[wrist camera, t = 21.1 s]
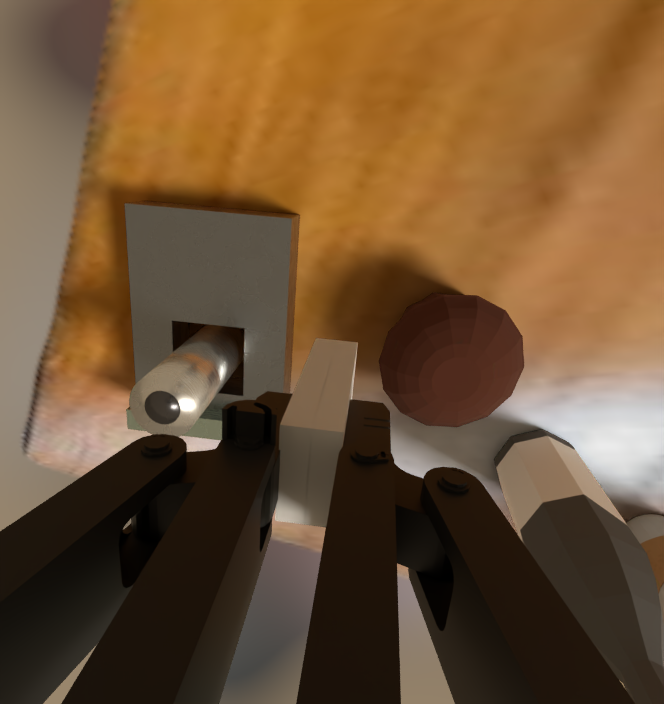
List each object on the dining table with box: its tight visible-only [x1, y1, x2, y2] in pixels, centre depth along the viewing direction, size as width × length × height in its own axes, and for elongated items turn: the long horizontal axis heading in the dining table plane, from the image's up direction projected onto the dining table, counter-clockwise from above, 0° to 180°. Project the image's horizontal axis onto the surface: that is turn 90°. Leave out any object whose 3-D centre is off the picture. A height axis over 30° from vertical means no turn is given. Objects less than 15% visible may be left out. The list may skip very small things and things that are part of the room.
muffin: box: [379, 292, 524, 427], centre depth 42 cm, size 12×11×10 cm
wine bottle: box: [494, 429, 664, 704], centre depth 36 cm, size 8×8×30 cm
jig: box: [125, 201, 300, 440], centre depth 45 cm, size 20×14×6 cm
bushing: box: [129, 324, 244, 437], centre depth 42 cm, size 5×5×14 cm
